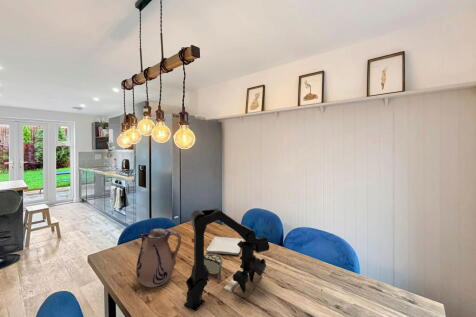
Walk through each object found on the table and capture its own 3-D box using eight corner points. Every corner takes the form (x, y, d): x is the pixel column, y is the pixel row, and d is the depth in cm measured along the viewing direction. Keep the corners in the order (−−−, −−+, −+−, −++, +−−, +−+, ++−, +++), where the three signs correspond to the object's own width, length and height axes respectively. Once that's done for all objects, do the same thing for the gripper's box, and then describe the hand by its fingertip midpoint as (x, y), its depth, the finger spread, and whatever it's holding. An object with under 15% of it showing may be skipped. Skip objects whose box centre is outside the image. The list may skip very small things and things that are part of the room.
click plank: (246, 298, 96) (247, 295, 96) (233, 293, 100) (233, 290, 100) (262, 277, 112) (262, 275, 112) (250, 273, 116) (250, 271, 115)
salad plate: (239, 257, 133) (239, 252, 133) (205, 255, 136) (205, 249, 136) (243, 243, 154) (243, 238, 154) (214, 241, 157) (214, 236, 157)
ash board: (231, 292, 100) (231, 289, 100) (223, 289, 102) (223, 287, 102) (248, 273, 116) (248, 270, 116) (241, 271, 118) (241, 268, 118)
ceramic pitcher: (137, 275, 113) (137, 228, 112) (179, 268, 121) (179, 223, 120) (134, 297, 97) (133, 242, 96) (183, 286, 105) (182, 235, 103)
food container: (227, 275, 114) (227, 256, 114) (220, 281, 109) (220, 262, 108) (208, 268, 120) (208, 251, 120) (201, 274, 115) (201, 255, 115)
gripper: (255, 268, 90) (255, 304, 91) (270, 249, 106) (270, 280, 107) (232, 262, 95) (232, 296, 96) (250, 245, 112) (250, 274, 113)
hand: (247, 286), depth 103 cm, fingers open, 8 cm apart
